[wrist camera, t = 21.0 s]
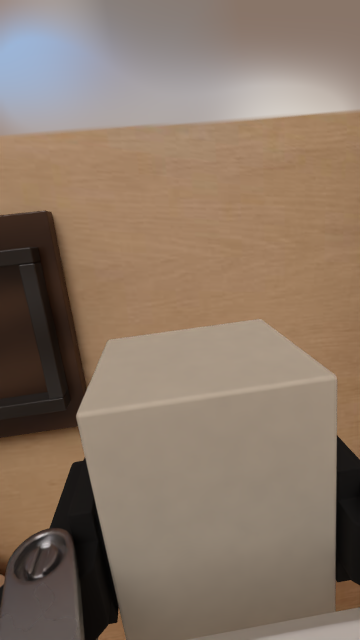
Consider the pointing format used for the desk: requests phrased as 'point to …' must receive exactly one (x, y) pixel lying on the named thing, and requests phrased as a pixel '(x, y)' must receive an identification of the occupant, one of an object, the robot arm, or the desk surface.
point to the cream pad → (213, 479)
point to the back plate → (35, 330)
